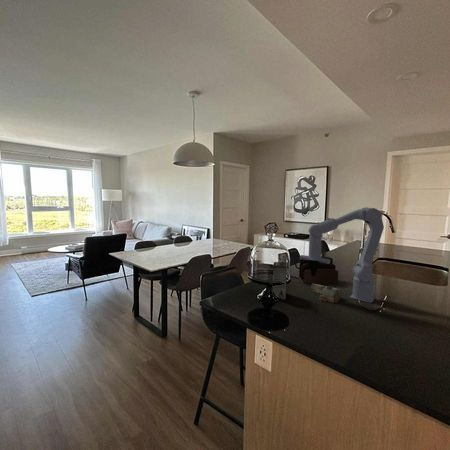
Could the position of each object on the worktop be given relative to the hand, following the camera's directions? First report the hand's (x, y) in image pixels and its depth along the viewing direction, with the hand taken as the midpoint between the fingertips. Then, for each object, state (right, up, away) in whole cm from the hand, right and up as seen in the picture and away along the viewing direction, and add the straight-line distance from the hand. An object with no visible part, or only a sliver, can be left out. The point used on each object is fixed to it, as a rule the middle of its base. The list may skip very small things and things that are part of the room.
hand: (313, 275), depth 127 cm
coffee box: (-17, -10, 0) cm, 20 cm away
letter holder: (+10, -8, +22) cm, 26 cm away
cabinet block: (+6, -11, -4) cm, 13 cm away
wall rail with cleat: (+4, -10, -2) cm, 11 cm away
